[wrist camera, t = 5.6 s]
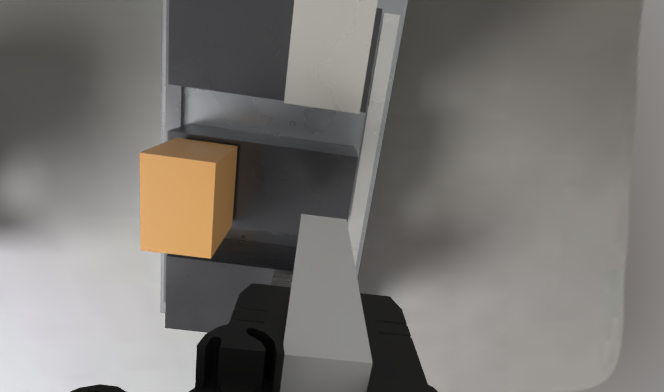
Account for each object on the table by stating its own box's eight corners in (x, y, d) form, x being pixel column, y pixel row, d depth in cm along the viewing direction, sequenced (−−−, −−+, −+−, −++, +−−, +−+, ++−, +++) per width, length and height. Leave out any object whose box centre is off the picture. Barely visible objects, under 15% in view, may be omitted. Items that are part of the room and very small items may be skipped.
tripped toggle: (175, 218, 19) (140, 250, 15) (176, 137, 18) (139, 152, 14) (232, 225, 19) (210, 258, 15) (237, 146, 18) (215, 162, 14)
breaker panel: (172, 295, 26) (101, 396, 18) (178, -33, 20) (75, -109, 12) (345, 315, 27) (354, 421, 18) (401, 2, 21) (449, -46, 12)
